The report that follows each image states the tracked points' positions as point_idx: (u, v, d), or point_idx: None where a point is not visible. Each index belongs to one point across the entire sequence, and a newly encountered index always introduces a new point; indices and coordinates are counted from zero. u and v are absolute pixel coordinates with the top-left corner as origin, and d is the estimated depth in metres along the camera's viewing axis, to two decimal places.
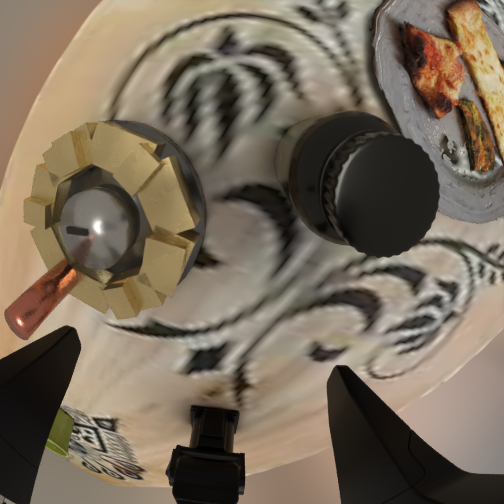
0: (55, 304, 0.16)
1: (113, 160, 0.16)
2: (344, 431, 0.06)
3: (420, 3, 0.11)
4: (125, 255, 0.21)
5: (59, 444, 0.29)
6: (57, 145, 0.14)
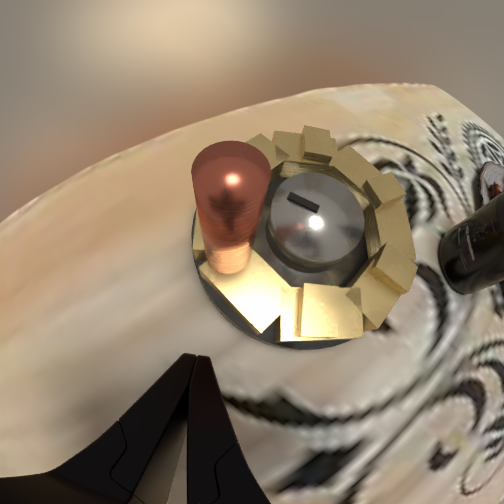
0: (249, 242, 0.12)
1: (357, 176, 0.19)
2: None
3: (495, 175, 0.25)
4: (311, 278, 0.18)
5: None
6: (311, 130, 0.18)
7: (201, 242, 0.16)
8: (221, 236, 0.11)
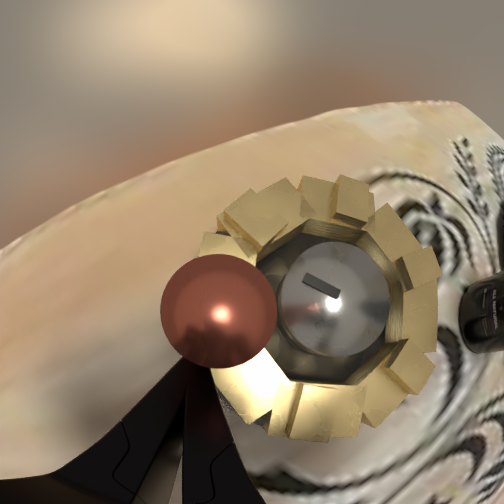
0: None
1: (392, 246, 0.15)
2: None
3: None
4: (323, 361, 0.15)
5: None
6: (347, 182, 0.15)
7: None
8: None
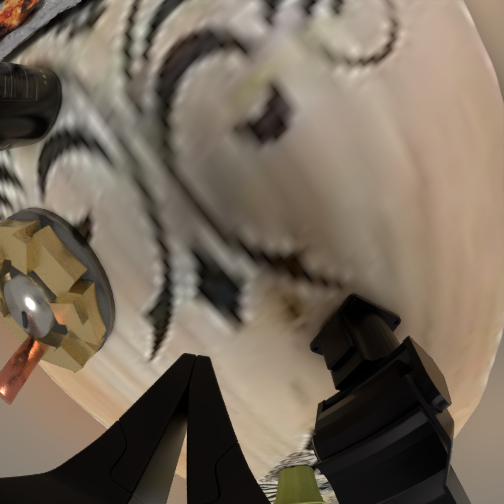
0: (26, 372, 0.17)
1: None
2: None
3: None
4: None
5: (300, 501, 0.28)
6: None
7: None
8: None
